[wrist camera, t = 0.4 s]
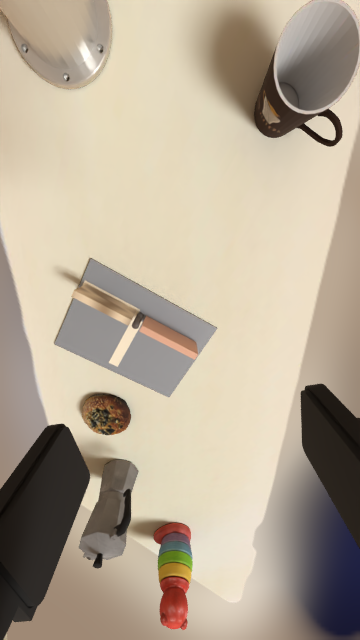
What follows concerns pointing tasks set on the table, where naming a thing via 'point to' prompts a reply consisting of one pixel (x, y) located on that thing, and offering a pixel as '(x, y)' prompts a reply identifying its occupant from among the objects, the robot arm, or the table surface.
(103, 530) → the coffeepot
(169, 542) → the stacking bear
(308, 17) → the coffee mug
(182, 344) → the folding fence panel
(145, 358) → the card
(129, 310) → the fixed fence section
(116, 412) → the bread roll
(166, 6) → the table surface
